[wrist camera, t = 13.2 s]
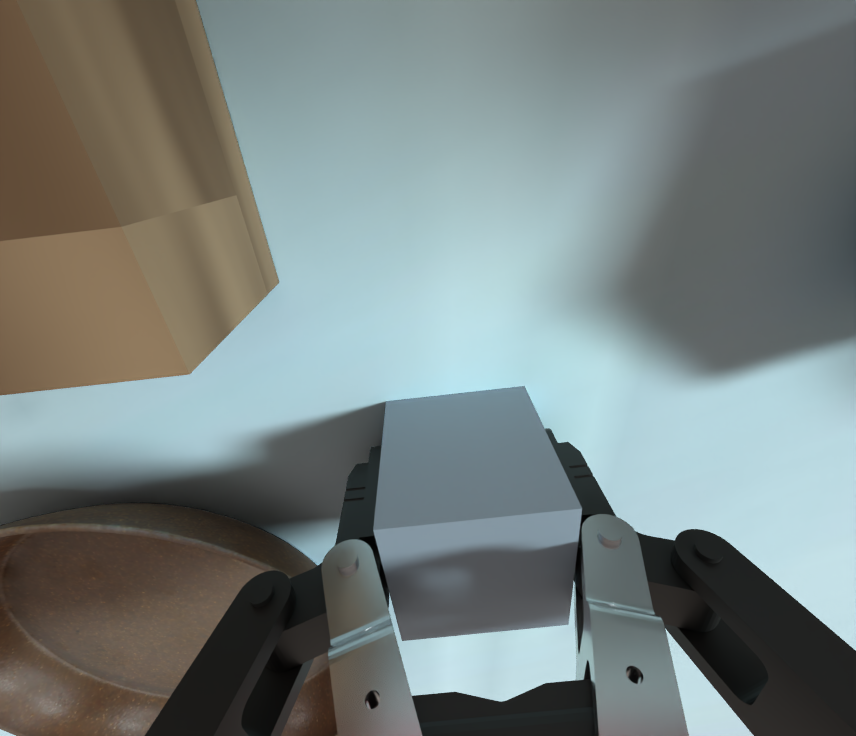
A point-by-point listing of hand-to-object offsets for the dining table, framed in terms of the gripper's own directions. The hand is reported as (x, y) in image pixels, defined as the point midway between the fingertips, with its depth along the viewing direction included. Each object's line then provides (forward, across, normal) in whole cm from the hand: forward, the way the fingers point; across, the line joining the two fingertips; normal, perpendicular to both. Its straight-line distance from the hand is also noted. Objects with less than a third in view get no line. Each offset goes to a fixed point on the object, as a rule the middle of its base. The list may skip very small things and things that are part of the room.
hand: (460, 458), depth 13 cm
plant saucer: (+1, +13, +8) cm, 15 cm away
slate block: (+1, 0, 0) cm, 1 cm away
